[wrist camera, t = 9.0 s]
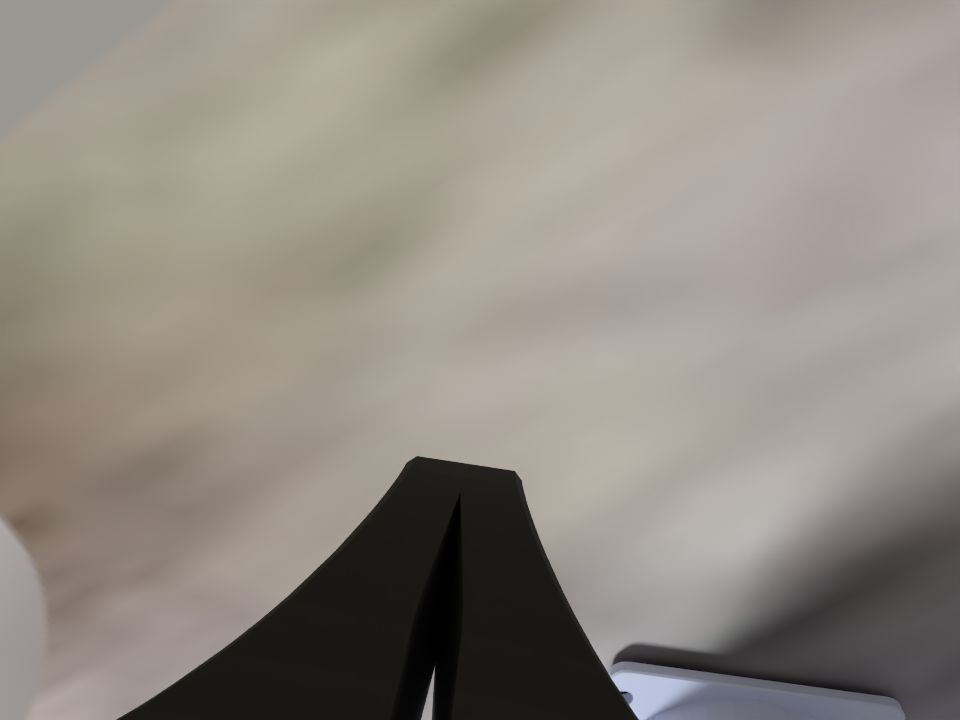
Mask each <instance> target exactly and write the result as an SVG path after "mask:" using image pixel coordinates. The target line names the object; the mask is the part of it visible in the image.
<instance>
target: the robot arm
mask: <svg viewBox="0 0 960 720" xmlns="http://www.w3.org/2000/svg"><path fill="white" fill-rule="evenodd" d="M435 662H436V663H435ZM434 667H435V676H434V693H433V710H432V720H905V714H904V712H903V710H902V708H901V705H900V703H899V702H898V701H896V700H895V699H893V698H890V697H885V696H877V695H870V694H863V693H855V692H848V691H841V690H833V689H826V688H819V687H811V686H804V685H797V684H789V683H782V682H775V681H768V680H760V679H753V678H746V677H738V676H731V675H724V674H716V673H709V672H702V671H694V670H687V669H680V668H672V667H665V666H658V665H650V664H643V663H636V662H619V663H616V664H614V665H613V666H612V667H610V669H609V671H608V672H607V671H606V669H605V667H604V666H603V664H602V662H601V661H600V659H599V657H598V656H597V654H596V652H595V651H594V649H593V647H592V646H591V644H590V642H589V640H588V638H587V636H586V635H585V633H584V631H583V629H582V627H581V626H580V624H579V622H578V620H577V618H576V616H575V615H574V613H573V611H572V609H571V607H570V605H569V603H568V601H567V599H566V597H565V595H564V593H563V591H562V589H561V586H560V584H559V582H558V580H557V578H556V576H555V573H554V571H553V569H552V567H551V565H550V562H549V560H548V558H547V556H546V553H545V551H544V549H543V546H542V544H541V541H540V539H539V536H538V533H537V531H536V528H535V525H534V523H533V520H532V517H531V514H530V511H529V508H528V505H527V501H526V498H525V494H524V490H523V486H522V480H521V479H520V478H519V476H518V475H517V474H516V472H515V471H511V470H504V469H497V468H491V467H484V466H478V465H471V464H465V463H458V462H451V461H445V460H438V459H432V458H425V457H419V456H417V457H415V458H413V459H412V460H410V461H409V462H407V463H406V465H405V467H404V469H403V470H402V472H401V473H400V475H399V476H398V478H397V479H396V480H395V482H394V483H393V485H392V486H391V487H390V489H389V490H388V491H387V493H386V494H385V495H384V496H383V498H382V499H381V500H380V501H379V503H378V504H377V505H376V506H375V507H374V509H373V510H372V511H371V512H370V513H369V515H368V516H367V517H366V518H365V519H364V520H363V521H362V522H361V523H360V525H359V526H358V527H357V528H356V529H355V530H354V531H353V532H352V533H351V535H350V536H349V537H348V538H347V539H346V540H345V541H344V542H343V543H342V544H341V546H340V547H339V548H338V549H337V550H336V551H335V552H334V553H333V554H332V555H331V556H330V557H329V558H328V559H327V560H326V561H325V562H324V563H323V564H321V565H320V566H319V567H318V568H317V569H316V570H315V571H314V572H313V573H312V574H311V575H310V576H309V577H308V578H307V579H306V580H305V581H304V582H303V583H302V584H301V585H299V586H298V587H297V588H296V589H295V590H294V591H293V592H292V593H291V594H290V595H289V596H288V597H287V598H285V599H284V600H283V601H282V602H281V603H280V604H278V605H277V606H276V607H275V608H274V609H273V610H272V611H270V612H269V613H268V614H267V615H266V616H264V617H263V618H262V619H261V620H260V621H258V622H257V623H256V624H255V625H253V626H252V627H251V628H249V629H248V630H247V631H246V632H244V633H243V634H242V635H241V636H239V637H238V638H237V639H236V640H234V641H233V642H232V643H230V644H229V645H228V646H226V647H225V648H224V649H222V650H221V651H220V652H218V653H217V654H215V655H214V656H213V657H211V658H210V659H208V660H207V661H205V662H204V663H203V664H201V665H200V666H198V667H197V668H196V669H194V670H193V671H191V672H190V673H189V674H187V675H186V676H184V677H183V678H181V679H180V680H179V681H177V682H176V683H174V684H173V685H171V686H170V687H168V688H167V689H165V690H164V691H162V692H161V693H159V694H158V695H156V696H155V697H153V698H151V699H150V700H148V701H147V702H145V703H144V704H142V705H140V706H139V707H137V708H136V709H134V710H132V711H130V712H129V713H127V714H125V715H124V716H122V717H120V718H118V719H117V720H421V717H422V713H423V709H424V705H425V702H426V698H427V694H428V690H429V686H430V683H431V679H432V675H433V671H434ZM620 691H626V692H628V693H626V694H621V692H620Z"/></svg>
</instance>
